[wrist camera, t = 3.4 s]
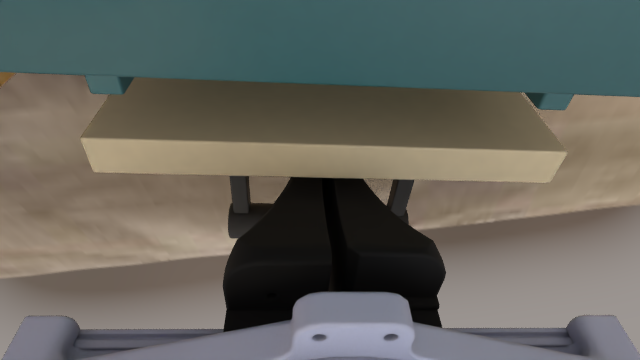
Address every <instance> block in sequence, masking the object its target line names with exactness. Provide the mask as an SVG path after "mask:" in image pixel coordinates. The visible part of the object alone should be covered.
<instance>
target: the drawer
mask: <svg viewBox="0 0 640 360" xmlns="http://www.w3.org/2000/svg"><path fill="white" fill-rule="evenodd" d="M85 78H86V81H87V83H88V86H89V89H90V92H91V93H93V94H110V95H109V96H108V98H107V99H106V101H105V102H104V104H103V105H102V107H101V108H100V110H99V111H98V113H97V114H96V115H95V117H94V118H93V120H92V121H91V123H90V124H89V126H88V127H87V129H86V130H85V132H84V133H83V135H82V136H81V138H80V140H81V142H82V145H83V147H84V150H85V152H86V155H87V157H88V159H89V162H90V164H91V167H92V169H93V171H94V172H95V173H138V174H181V175H225V176H230V185H231V193H232V202H233V203H231V205H230V208H229V216H228V232H229V236H230V238H240V237H241V236H242V235H243V234H245V233H246V232H247V231H248V230H249V229H251V228H252V227H253V226H254V225H255V224H256V223H257V222H258V221H259V220H260V219H261V218H262V217H263V216H264V215H265V214H266V212H267V211H268V210H269V209H270V208H271V207H272V205H273V204H269V203H251V202H250V188H249V176H269V177H312V178H356V179H393V183H392V187H391V191H390V195H389V199H388V203H387V207H388V208H389V209H390V210H391V211H392V212H393V213H394V214H396V215H397V216H398V217H399V218H400V219H402V220H403V221H404V222H405V223H407V224H408V225H409V222H408V213H407V210H406V207H407V203H408V200H409V197H410V193H411V190H412V186H413V183H414V180H443V181H487V182H530V183H549V182H551V180H552V178H553V177H554V175H555V173H556V172H557V170H558V168H559V167H560V165H561V163H562V162H563V160H564V158H565V157H566V155H567V150H566V149H565V148H564V147H563V145H562V144H561V143H560V142H559V140H558V139H557V138H556V137H555V135H554V134H553V133H552V132H551V130H550V129H549V128H548V126H547V125H546V124H545V123H544V121H543V120H542V119H541V118H540V116H539V115H538V114H537V113H536V111H535V110H534V109H533V108H532V106H531V105H530V104H529V103H528V101H527V100H526V99H525V98H524V96H523V95H522V94H521V93H520V92H500V91H475V90H449V89H423V88H398V87H372V86H346V85H321V84H295V83H269V82H244V81H218V80H192V79H167V78H141V77H115V76H90V75H85ZM524 93H525V94H526V95H527V96H528V98H529V99H530V100H531V101H532V102H533V104H534V105H535V106H536V107H537V108H538V109H542V110H565V109H566V108H567V106H568V105H569V103H570V101H571V99H572V97H573V95H574V94H552V93H526V92H524Z"/></svg>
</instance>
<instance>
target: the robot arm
mask: <svg viewBox="0 0 640 360" xmlns="http://www.w3.org/2000/svg"><path fill="white" fill-rule="evenodd" d="M445 274H446V271H445V267H444V263H443V260H442V258H441V256H440V253H439V251H438V249H437V247H436V245H435V243H434V242H433V240H431V239H429V238H428V237H426V236H425V235H423V234H421V233H420V232H418V231H417V230H415V229H414V228H412V227H411V226H410V225H408V224H407V223H405V222H404V221H403V220H402V219H400V218H399V217H398V216H397V215H396V214H394V213H393V212H392V211H391V210H390V209H389V208H388V207H387V206H386V205H385V204H384V203H383V202H382V201H381V200H380V199H379V198H378V197H377V196H376V195H375V194H374V192H373V191H372V190H371V189H370V188H369V186H368V185H367V184H366V182H365V181H364V180H363V179H356V178H312V177H291V178H290V180H289V182H288V184H287V185H286V187H285V188H284V190H283V192H282V193H281V194H280V196H279V197H278V199H277V200H276V201H275V203H274V204H273V205H272V207H271V208H270V209H269V210H268V211H267V212H266V214H265V215H264V216H263V217H262V218H261V219H260V220H259V221H258V222H257V223H256V224H255V225H254V226H253V227H252V228H251V229H249V230H248V231H247V232H246V233H245V234H243V235H242V236H241V237H240V238H239V239H237V241H236V243H235V245H234V247H233V249H232V252H231V254H230V256H229V259H228V262H227V265H226V268H225V273H224V280H223V290H224V296H225V302H226V307H227V311H226V318H225V324H224V329H110V330H109V329H103V330H101V329H100V330H98V329H96V330H93V329H88V330H80V328H79V325H78V324H77V323H76V321H75V320H74V319H72V318H70V317H67V316H27V317H25V318H24V320H23V322H22V323H21V325H20V327H19V329H18V331H17V332H16V334H15V336H14V338H13V340H12V342H11V343H10V345H9V347H8V349H7V351H6V352H5V354H4V356H3V358H2V360H640V354H639V353H638V351H637V349H636V348H635V346H634V345H633V343H632V341H631V340H630V338H629V337H628V335H627V333H626V332H625V330H624V329H623V327H622V326H621V324H620V322H619V321H618V319H617V318H616V316H614V315H583V316H578V317H575V318H574V319H572V320H571V321H570V323H569V324H568V326H567V327H566V328H442V325H441V321H440V318H439V314H438V310H437V309H439V302H438V298H437V294H438V292H439V290H440V287H441V285H442V283H443V281H444V278H445ZM328 291H329V292H328Z"/></svg>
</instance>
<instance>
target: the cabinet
mask: <svg viewBox="0 0 640 360" xmlns="http://www.w3.org/2000/svg"><path fill="white" fill-rule="evenodd" d="M0 72H12V73H38V74H64V75H90V76H115V77H141V78H167V79H192V80H218V81H244V82H269V83H295V84H321V85H346V86H372V87H398V88H423V89H449V90H475V91H500V92H526V93H552V94H577V95H603V96H629V97H640V0H0Z"/></svg>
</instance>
